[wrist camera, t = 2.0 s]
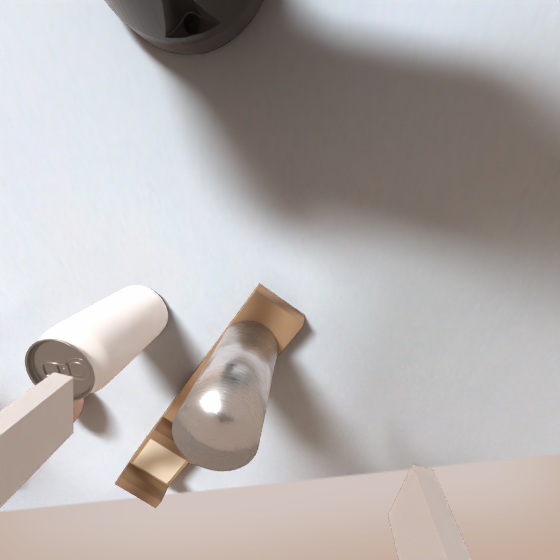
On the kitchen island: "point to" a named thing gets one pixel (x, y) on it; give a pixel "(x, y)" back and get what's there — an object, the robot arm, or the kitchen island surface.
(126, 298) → the can
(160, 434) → the rail
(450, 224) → the kitchen island surface
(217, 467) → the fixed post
